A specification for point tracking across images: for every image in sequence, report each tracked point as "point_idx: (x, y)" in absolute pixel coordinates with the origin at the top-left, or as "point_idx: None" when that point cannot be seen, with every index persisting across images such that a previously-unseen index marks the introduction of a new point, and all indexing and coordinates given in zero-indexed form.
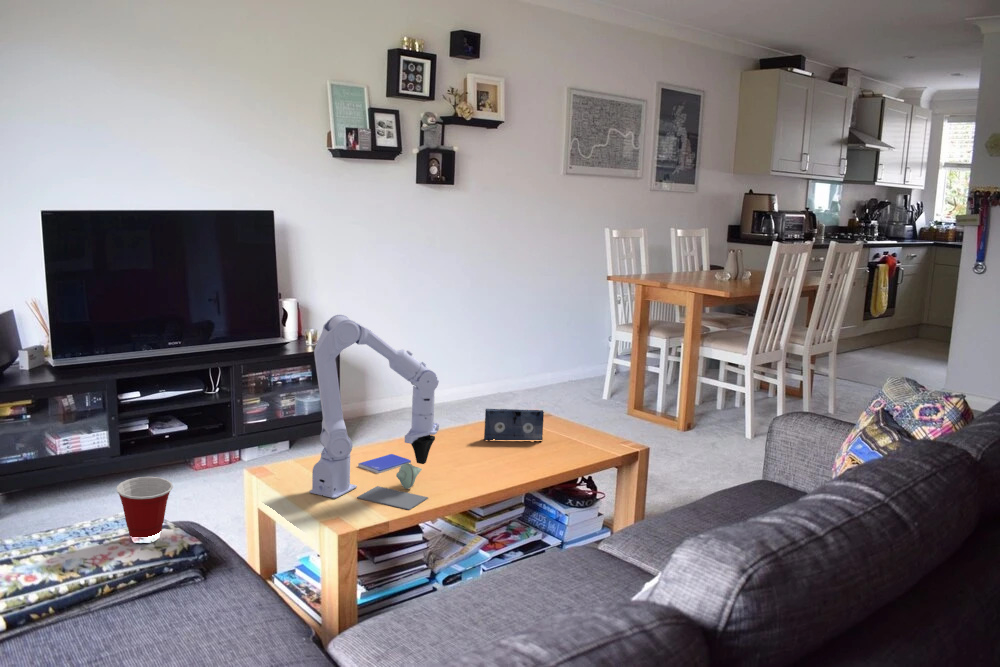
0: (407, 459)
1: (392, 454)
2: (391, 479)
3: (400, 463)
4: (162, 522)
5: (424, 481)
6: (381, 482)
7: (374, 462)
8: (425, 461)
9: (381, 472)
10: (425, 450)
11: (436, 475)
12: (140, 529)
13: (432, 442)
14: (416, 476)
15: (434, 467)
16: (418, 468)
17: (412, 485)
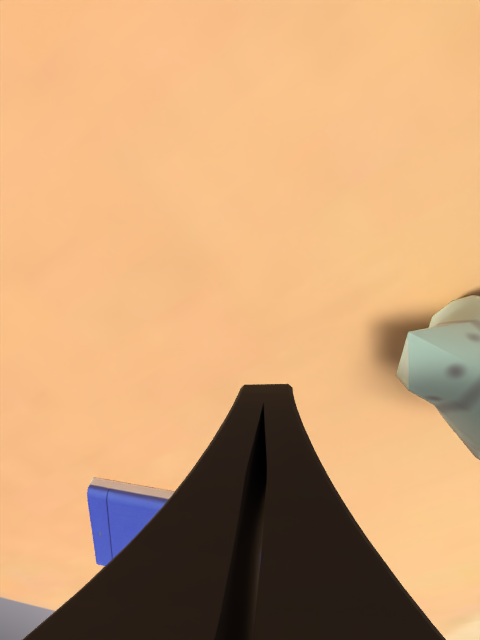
0: (93, 503)
1: (99, 559)
2: (346, 448)
3: (157, 504)
4: None
5: (268, 302)
6: (415, 463)
7: None
8: (259, 393)
9: None
10: (322, 508)
11: (127, 300)
12: None
13: (108, 595)
14: (455, 319)
15: (40, 374)
16: (463, 356)
17: (472, 296)
